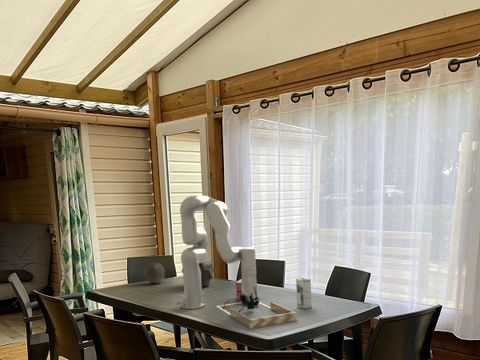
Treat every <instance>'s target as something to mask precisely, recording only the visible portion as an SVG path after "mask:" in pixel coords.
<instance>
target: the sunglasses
mask: <svg viewBox="0 0 480 360" xmlns="http://www.w3.org/2000/svg"><path fill="white" fill-rule="evenodd" d="M238 297H240V300H239V301H240V302H242V303H241V304H243V305H244V306H243V307H241V309H240V310H238V312H240V313H241V311H242V310H244V308H245V307H247V299H246V296H245V295H240V296H238ZM238 297H237V296H236V297H234V298H232V299H230V300H228V301H225V303H224V304H223V305H224V306H222V307H223V308H222V309H224V310H225V307H226V306H225V305H227V304H228V303H229V302H231V301H234V300H235V299H236V300H237V298H238ZM259 302H260V297H258V296H257V297H256V298H254V307H255V306H256V307H257V306H259Z"/></svg>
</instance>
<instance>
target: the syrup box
mask: <svg viewBox="0 0 480 360" xmlns="http://www.w3.org/2000/svg"><path fill="white" fill-rule="evenodd" d="M295 280H296V281H295V282H296V283H295V285H296V306H297V307H298V308H301V309H302V310H303V309H309V308H312V287H311V286H312V284H311V278H307V277H296V278H295Z"/></svg>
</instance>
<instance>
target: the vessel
mask: <svg viewBox="0 0 480 360" xmlns="http://www.w3.org/2000/svg"><path fill="white" fill-rule="evenodd" d="M198 265H199V267H200V271H201V288H203V287H207V286H209V285H210V284H211V283H210V282H211V280H212V279H214V271H215V267H214V266H213V263H212V261H210V260H209V259H208V258H207V259H206V260H205V261H204V262H202V263H199V264H198ZM181 272H182V274H183V267H182V269H181Z"/></svg>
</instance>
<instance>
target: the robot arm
mask: <svg viewBox="0 0 480 360" xmlns="http://www.w3.org/2000/svg"><path fill="white" fill-rule="evenodd" d="M196 212H205V214H206V216H207V218H208V220H209V223H210V225H211V227H212V229H213V231H214V233H215V244H216V249H217V252H218V253H219V256H220V257H221V259H222V260H223V262H225V263H226V264H230V265H231V264H234V263H237V262H240V268H241V269H240V270H241V271H240V272H241V279H242V280H241V290H242V293H243V294H244V295H246V299H247V304H246V305H247V306H246V309H247V310H254V309H255V305H254V298H256V296H255V295H257V296H258V282H257V281H258V280H257V262H256V261H257V259H256V250H255V248H254V247H251V246H249V247H248V246H246V247H244V246H243V247H242V246H233V247H231V244H230V241H229V239H228V235H229V234H228V233H229V232H230V229H231V225H230V223H229V221H228V219H227V217H226V216H227V214H228V206H227V204H225V202H223V201H221V200H217V199H215V198H212V197H210V196H207V195H191V196H187V197H186V198H184V199H183V200H182V201H181V204H180V207H179V213H180V221H181V225H180V226H181V237H182V242H183V244H185V245H186V246H192V247H187V248H186V249H185V248H184V250H183V251H182V252H181V255H180V262H181V265H182V268H183V273H182V276H183V292H184V293H183V298H182V299H181V300H176V301H175V305H181V308H182V309H186V310H195V309H201V308H204V307H205V306H206V303H205V302H204V301H203V293H202V292H203V290H202V289H203V287H201V271H200V267H199V265H198V264H199V263H202V262H204V261H205V260H206V259H207V260H208V256H209V246H208V235H207V231H206V229H205V228H203V226H202V227H201V226H198V220H197V216H196V214H195V213H196Z"/></svg>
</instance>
